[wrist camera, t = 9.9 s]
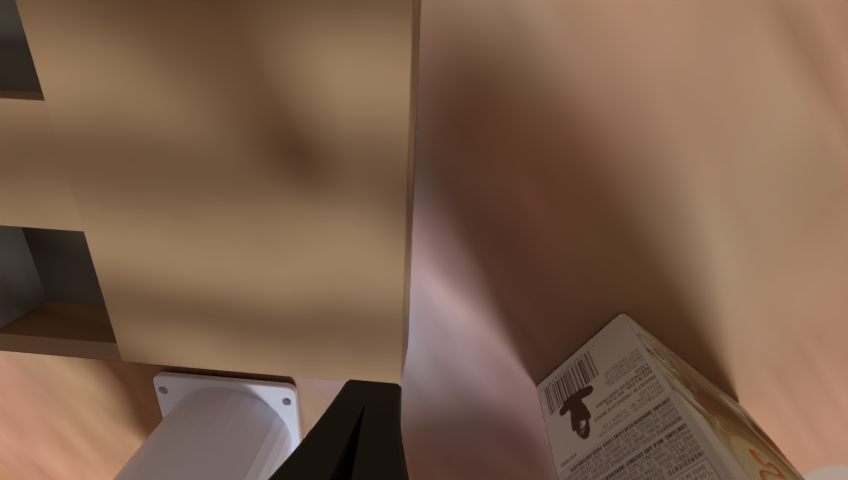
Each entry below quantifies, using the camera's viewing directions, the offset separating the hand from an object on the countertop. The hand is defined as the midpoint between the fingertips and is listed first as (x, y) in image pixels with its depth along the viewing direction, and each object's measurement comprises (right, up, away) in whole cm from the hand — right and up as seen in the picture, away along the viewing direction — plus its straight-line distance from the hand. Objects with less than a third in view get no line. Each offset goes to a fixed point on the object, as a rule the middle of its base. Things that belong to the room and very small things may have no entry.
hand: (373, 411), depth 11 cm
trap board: (-14, +8, +8) cm, 18 cm away
